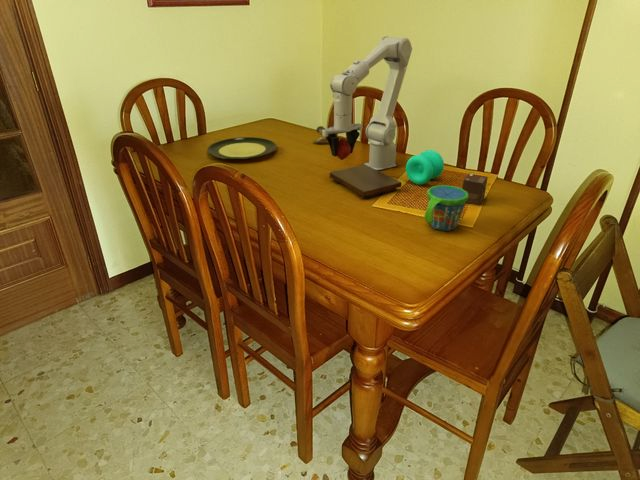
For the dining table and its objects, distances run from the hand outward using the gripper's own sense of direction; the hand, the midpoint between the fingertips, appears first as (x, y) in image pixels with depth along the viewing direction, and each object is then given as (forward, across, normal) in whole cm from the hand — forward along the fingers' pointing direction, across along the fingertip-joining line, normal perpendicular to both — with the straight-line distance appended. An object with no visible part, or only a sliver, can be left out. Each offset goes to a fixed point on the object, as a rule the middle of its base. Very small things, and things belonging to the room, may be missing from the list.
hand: (342, 154), depth 153 cm
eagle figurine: (+7, -20, -36) cm, 42 cm away
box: (+9, -25, +36) cm, 45 cm away
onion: (+2, 0, 0) cm, 2 cm away
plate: (+9, +19, -45) cm, 50 cm away
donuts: (+9, -23, +16) cm, 29 cm away
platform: (+9, -3, +9) cm, 13 cm away
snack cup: (+9, -5, +45) cm, 46 cm away
